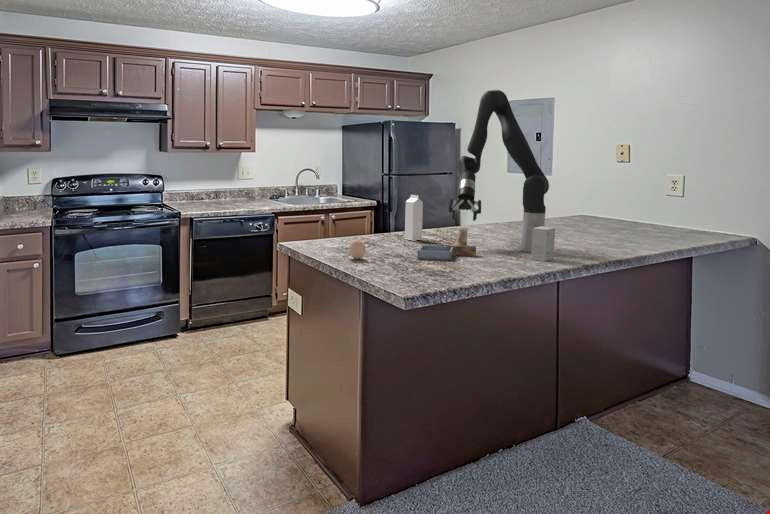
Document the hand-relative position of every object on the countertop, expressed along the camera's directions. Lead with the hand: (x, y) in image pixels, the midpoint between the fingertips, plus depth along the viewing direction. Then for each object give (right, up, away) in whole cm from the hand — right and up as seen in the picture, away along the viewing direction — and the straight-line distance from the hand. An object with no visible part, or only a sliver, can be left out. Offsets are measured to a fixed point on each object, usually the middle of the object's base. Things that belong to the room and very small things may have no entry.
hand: (464, 219), depth 249 cm
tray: (-14, -16, -15) cm, 26 cm away
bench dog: (-3, -16, -11) cm, 19 cm away
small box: (+30, -18, -16) cm, 38 cm away
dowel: (-2, -15, -6) cm, 16 cm away
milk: (-21, -9, +26) cm, 35 cm away
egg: (-46, -18, -23) cm, 54 cm away
